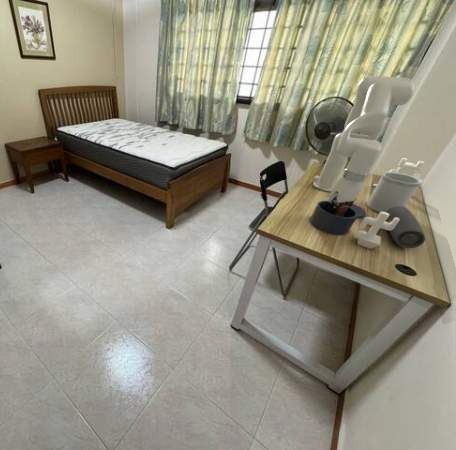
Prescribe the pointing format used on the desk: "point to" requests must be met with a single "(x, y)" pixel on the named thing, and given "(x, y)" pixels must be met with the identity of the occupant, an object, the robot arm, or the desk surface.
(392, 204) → the utensil holder
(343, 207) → the toy bear
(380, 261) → the desk surface
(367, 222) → the figurine
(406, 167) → the white branched piece
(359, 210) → the pot lid
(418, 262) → the desk surface
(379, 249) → the desk surface
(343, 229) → the pot
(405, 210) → the bluetooth speaker
